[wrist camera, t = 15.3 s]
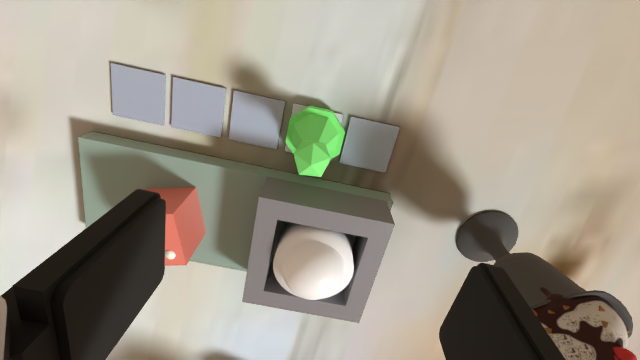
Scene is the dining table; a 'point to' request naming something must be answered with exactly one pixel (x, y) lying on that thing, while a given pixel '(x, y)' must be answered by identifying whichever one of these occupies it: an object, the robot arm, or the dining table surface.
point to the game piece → (314, 139)
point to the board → (246, 214)
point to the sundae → (551, 293)
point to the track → (236, 115)
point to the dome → (313, 261)
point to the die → (181, 223)
